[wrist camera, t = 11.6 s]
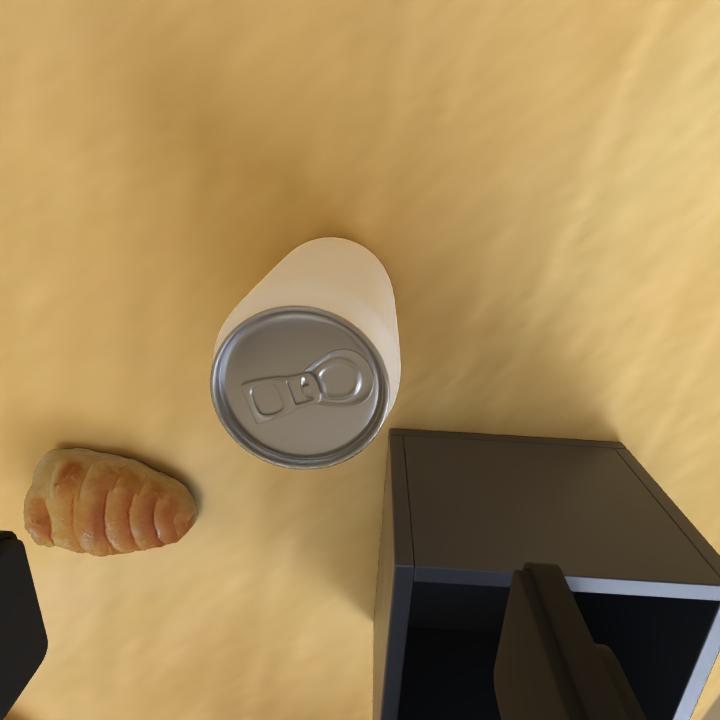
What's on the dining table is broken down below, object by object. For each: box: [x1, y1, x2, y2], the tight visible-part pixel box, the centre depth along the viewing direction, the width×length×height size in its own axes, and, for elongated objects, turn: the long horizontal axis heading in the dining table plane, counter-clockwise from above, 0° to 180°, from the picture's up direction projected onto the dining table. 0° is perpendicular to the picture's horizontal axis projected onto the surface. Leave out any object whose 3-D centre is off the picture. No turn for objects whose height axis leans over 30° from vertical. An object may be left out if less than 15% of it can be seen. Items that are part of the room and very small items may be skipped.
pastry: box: [24, 448, 197, 557], centre depth 30 cm, size 9×7×4 cm
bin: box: [373, 429, 720, 720], centre depth 27 cm, size 16×14×11 cm
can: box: [210, 237, 401, 470], centre depth 21 cm, size 6×6×12 cm
